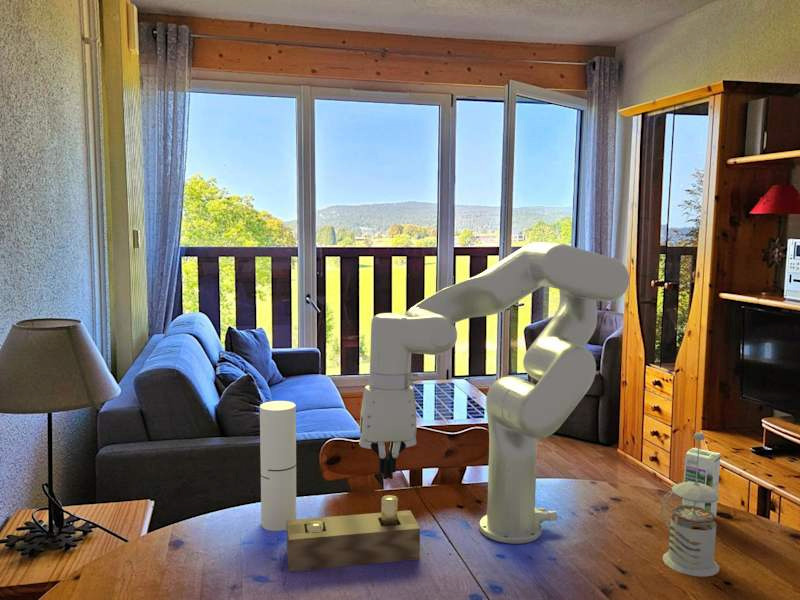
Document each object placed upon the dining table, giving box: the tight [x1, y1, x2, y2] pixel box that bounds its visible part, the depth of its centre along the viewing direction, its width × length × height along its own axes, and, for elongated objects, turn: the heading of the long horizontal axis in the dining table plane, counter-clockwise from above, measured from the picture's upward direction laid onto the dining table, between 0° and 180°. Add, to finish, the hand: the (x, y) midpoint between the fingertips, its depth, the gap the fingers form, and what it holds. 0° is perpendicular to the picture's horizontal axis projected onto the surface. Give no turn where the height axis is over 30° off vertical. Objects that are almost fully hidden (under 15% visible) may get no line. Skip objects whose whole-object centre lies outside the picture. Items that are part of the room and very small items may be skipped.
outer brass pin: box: [307, 521, 323, 533], centre depth 127 cm, size 3×3×6 cm
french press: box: [660, 431, 720, 577], centre depth 127 cm, size 10×12×25 cm
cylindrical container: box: [259, 400, 297, 532], centre depth 140 cm, size 7×7×25 cm
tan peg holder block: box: [286, 509, 421, 573], centre depth 129 cm, size 24×8×6 cm, turn 102°
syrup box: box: [681, 447, 722, 526], centre depth 146 cm, size 6×6×14 cm
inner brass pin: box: [380, 494, 399, 526], centre depth 130 cm, size 3×3×6 cm
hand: (386, 476), depth 128 cm, fingers closed
